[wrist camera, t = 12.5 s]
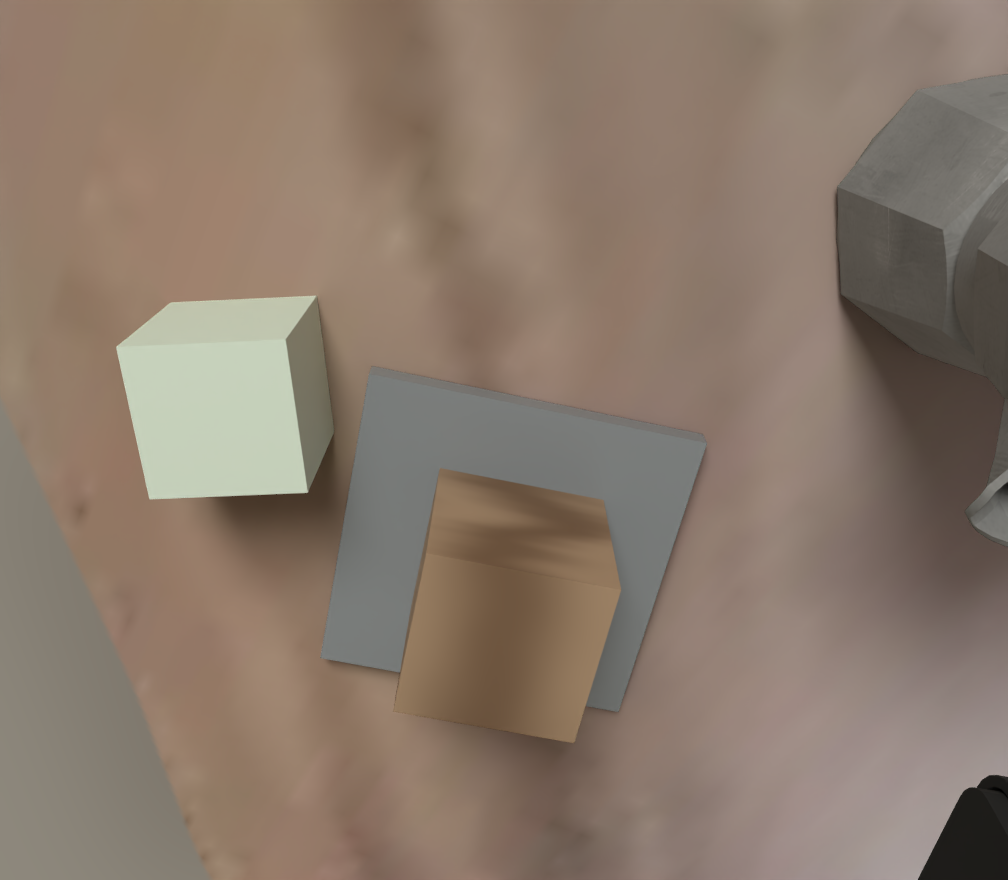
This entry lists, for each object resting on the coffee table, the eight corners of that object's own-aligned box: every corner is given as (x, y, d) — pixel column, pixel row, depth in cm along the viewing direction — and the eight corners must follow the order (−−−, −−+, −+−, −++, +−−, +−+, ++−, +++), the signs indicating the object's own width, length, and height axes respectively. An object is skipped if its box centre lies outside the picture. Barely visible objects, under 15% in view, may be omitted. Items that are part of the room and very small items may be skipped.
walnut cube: (603, 499, 35) (621, 590, 29) (564, 636, 37) (573, 743, 31) (439, 467, 34) (426, 553, 29) (411, 607, 36) (393, 711, 31)
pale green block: (317, 295, 33) (285, 339, 28) (334, 430, 35) (307, 492, 30) (171, 301, 33) (116, 347, 28) (197, 436, 35) (149, 499, 30)
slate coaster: (702, 434, 34) (707, 443, 34) (616, 699, 39) (618, 712, 38) (372, 366, 33) (369, 373, 33) (324, 645, 38) (320, 658, 37)
